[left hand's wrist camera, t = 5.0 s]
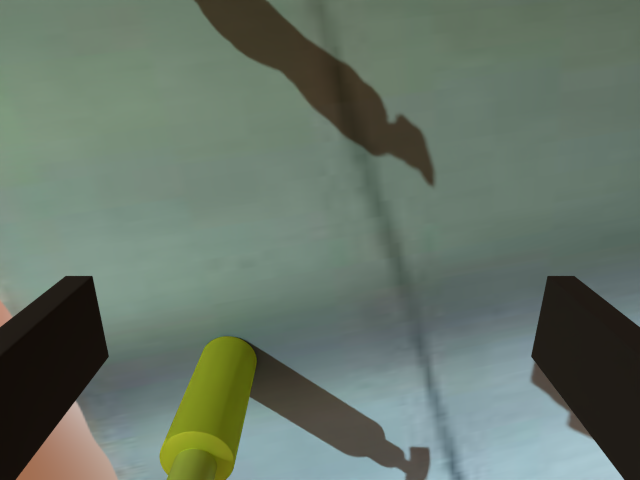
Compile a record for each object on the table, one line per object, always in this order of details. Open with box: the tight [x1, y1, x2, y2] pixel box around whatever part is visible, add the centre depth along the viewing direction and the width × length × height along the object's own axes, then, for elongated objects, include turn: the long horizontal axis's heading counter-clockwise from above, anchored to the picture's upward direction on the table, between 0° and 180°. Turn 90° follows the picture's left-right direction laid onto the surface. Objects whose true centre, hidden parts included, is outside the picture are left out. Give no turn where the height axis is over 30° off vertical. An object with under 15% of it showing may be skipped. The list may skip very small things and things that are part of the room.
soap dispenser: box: [160, 336, 257, 480], centre depth 37 cm, size 6×7×20 cm
